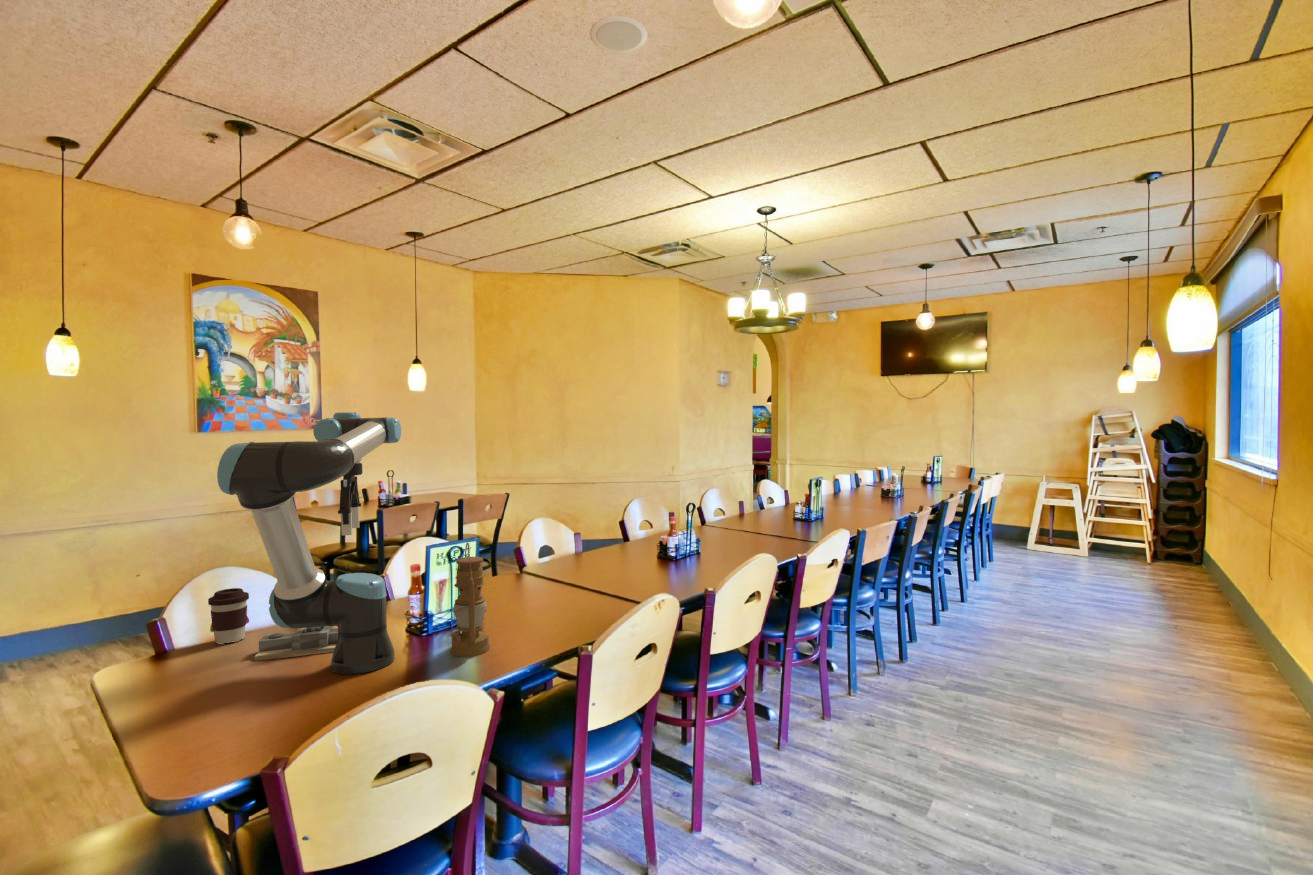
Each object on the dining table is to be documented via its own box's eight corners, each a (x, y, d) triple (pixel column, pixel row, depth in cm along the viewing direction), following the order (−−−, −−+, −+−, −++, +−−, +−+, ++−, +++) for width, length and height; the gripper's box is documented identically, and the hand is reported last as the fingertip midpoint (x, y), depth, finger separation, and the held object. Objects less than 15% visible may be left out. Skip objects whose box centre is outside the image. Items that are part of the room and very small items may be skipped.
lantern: (441, 647, 171) (438, 541, 171) (476, 638, 178) (473, 536, 178) (463, 662, 160) (460, 548, 160) (499, 652, 167) (497, 543, 166)
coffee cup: (257, 637, 183) (256, 588, 183) (222, 648, 174) (220, 596, 174) (237, 633, 188) (235, 585, 187) (202, 644, 179) (200, 593, 178)
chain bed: (359, 649, 171) (359, 630, 171) (254, 660, 164) (254, 641, 164) (367, 635, 183) (366, 618, 183) (269, 646, 176) (268, 628, 176)
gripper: (355, 464, 175) (357, 537, 176) (367, 459, 199) (369, 524, 200) (326, 465, 173) (328, 539, 174) (342, 460, 197) (344, 525, 197)
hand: (350, 531), depth 187 cm, fingers open, 13 cm apart
